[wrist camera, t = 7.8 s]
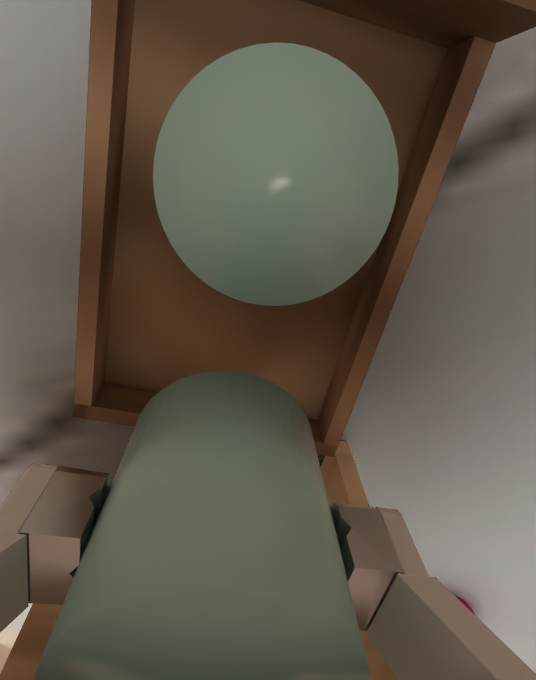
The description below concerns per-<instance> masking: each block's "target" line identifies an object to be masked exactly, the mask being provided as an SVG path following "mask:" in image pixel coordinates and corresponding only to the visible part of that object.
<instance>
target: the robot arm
mask: <svg viewBox="0 0 536 680" xmlns="http://www.w3.org/2000/svg"><path fill="white" fill-rule="evenodd" d="M110 482H111V475H110V474H107V473H101V472H94V471H88V470H81V469H75V468H68V467H62V466H60V467H58V466H52V465H45V464H39V463H34V464H32V465H31V466H30V467H28V468H27V470H26V471H25V473H24V474H23V475H22V477H21V478H20V480H19V481H18V483H17V484H16V486H15V487H14V488H13V490H12V491H11V493H10V494H9V496H8V497H7V499H6V500H5V502H4V503H3V504H2V506H1V507H0V632H1V631H2V630H3V629H5V628H6V627H7V626H8V625H9V624H10V623H11V622H12V621H13V620H14V619H15V618H16V617H17V616H18V615H20V614H21V613H22V612H23V611H24V610H25V609H26V608H27V607H28V603H37V604H56V605H63V603H64V600H65V598H66V596H67V593H68V591H69V588H70V586H71V583H72V581H73V578H74V576H75V573H76V571H77V568H78V566H79V563H80V561H81V558H82V556H83V553H84V551H85V549H86V546H87V544H88V541H89V539H90V536H91V534H92V531H93V529H94V526H95V524H96V521H97V519H98V516H99V514H100V511H101V509H102V507H103V504H104V502H105V499H106V497H107V494H108V492H109V489H110ZM330 510H331V514H332V518H333V522H334V526H335V530H336V535H337V539H338V543H339V547H340V551H341V555H342V559H343V564H344V568H345V572H346V576H347V580H348V584H349V588H350V593H351V597H352V601H353V605H354V609H355V613H356V617H357V622H358V626H359V630H363V631H367V632H366V634H367V635H368V637H369V638H370V640H371V641H372V643H373V644H374V645H375V647H376V648H377V650H378V651H379V653H380V654H381V656H382V657H383V659H384V660H385V662H386V663H387V665H388V666H389V668H390V669H391V671H392V672H393V674H394V675H395V677H396V678H397V680H536V674H535V673H534V672H533V671H532V670H531V669H530V668H529V667H528V666H527V665H526V664H525V663H524V662H523V661H522V660H521V659H520V658H519V657H518V656H517V655H516V654H515V653H514V652H513V651H511V650H510V649H509V648H508V647H507V646H506V645H505V644H504V643H503V642H502V641H501V640H500V639H499V638H498V637H497V636H496V635H495V634H494V633H493V632H492V631H491V630H490V629H489V628H488V627H486V626H485V625H484V624H483V623H482V622H481V621H480V620H479V619H478V618H477V617H476V616H475V615H474V614H473V613H472V612H471V611H470V610H469V609H468V608H467V607H466V606H465V605H464V604H463V603H461V602H460V601H459V600H458V599H457V598H456V597H455V596H454V595H453V594H452V593H451V592H450V591H449V590H448V589H447V588H446V587H445V586H444V585H443V584H442V583H441V582H440V581H439V580H438V579H437V578H435V577H429V576H428V573H427V571H426V569H425V567H424V564H423V562H422V560H421V558H420V555H419V553H418V551H417V549H416V546H415V544H414V542H413V540H412V537H411V535H410V533H409V531H408V528H407V526H406V524H405V522H404V519H403V517H402V515H401V513H400V512H399V511H398V510H396V509H387V508H379V507H375V508H374V507H370V506H361V505H353V504H344V503H336V502H333V503H332V505H331V506H330Z"/></svg>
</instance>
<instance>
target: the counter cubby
mask: <svg viewBox="0 0 536 680" xmlns="http://www.w3.org/2000/svg"><path fill="white" fill-rule="evenodd" d="M320 468H321V472H322V476H323V481H324V485H325V489H326V493H327V497H328V501H329V506H331V505H332V503H333V502H336V503H344V504H353V505H361V506H369V504H368V501H367V498H366V495H365V492H364V489H363V486H362V484H361V481H360V478H359V475H358V472H357V469H356V466H355V463H354V460H353V457H352V455H351V452H350V449H349V446H348V443H347V442H344V441H340V442H339V445H338V447H337V450H336V452H335V455H334V457H329V456H325V457H324V459H323V462H322V464H321V467H320ZM61 608H62V605H56V604H37V603H33V605H32V607H31V609H30V611H29V613H28V615H27V618H26V620H25V622H24V624H23V626H22V628H21V630H20V633H19V635H18V637H17V639H16V641H15V643H14V646H13V648H12V650H11V652H10V654H9V656H8V658H7V661H6V663H5V665H4V667H3V669H2V672H1V674H0V680H34V678H35V673H36V670H37V668H38V665H39V662H40V660H41V657H42V655H43V652H44V650H45V647H46V645H47V642H48V640H49V638H50V635H51V633H52V630H53V628H54V625H55V623H56V620H57V618H58V615H59V613H60V610H61ZM366 632H367V631H363V630H360V634H361V638H362V642H363V647H364V651H365V655H366V659H367V663H368V667H369V671H370V680H397V678H396V677H395V675H394V674H393V672H392V671H391V669H390V668H389V666H388V665H387V663H386V662H385V660H384V659H383V657H382V656H381V654H380V653H379V651H378V650H377V648H376V647H375V645H374V644H373V643H372V641H371V640H370V638H369V637H368V635H367V634H366Z"/></svg>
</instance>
